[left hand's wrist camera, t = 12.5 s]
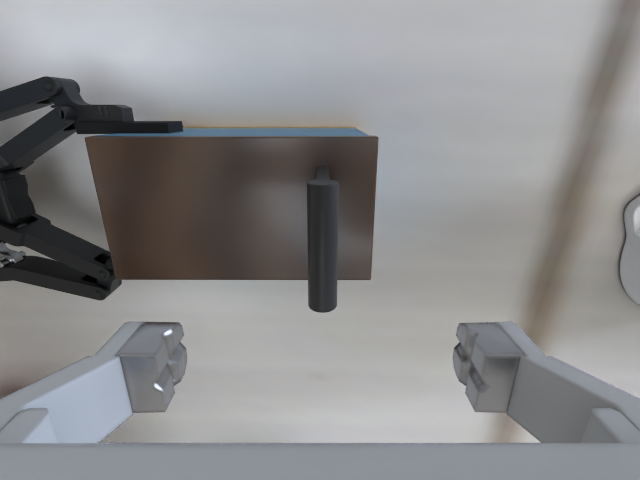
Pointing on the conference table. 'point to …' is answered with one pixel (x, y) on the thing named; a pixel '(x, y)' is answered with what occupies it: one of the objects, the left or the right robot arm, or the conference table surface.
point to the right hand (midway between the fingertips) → (185, 196)
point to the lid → (239, 208)
